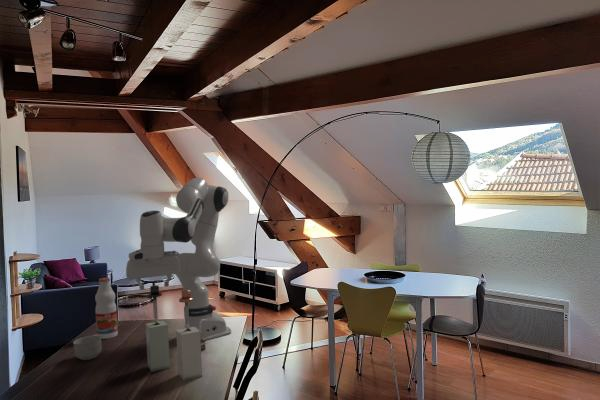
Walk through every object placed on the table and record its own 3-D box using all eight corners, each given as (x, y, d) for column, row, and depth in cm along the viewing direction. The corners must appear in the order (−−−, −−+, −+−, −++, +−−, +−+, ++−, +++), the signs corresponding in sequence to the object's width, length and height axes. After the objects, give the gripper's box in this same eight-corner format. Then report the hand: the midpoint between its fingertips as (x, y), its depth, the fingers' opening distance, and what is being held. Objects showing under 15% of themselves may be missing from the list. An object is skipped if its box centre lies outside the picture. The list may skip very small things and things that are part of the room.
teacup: (91, 362, 201) (90, 343, 200) (68, 362, 203) (67, 342, 203) (111, 351, 214) (110, 332, 214) (89, 350, 216) (88, 332, 216)
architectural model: (206, 351, 210) (205, 334, 209) (190, 355, 206) (189, 337, 206) (204, 349, 213) (203, 332, 212) (188, 352, 209) (187, 335, 209)
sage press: (165, 362, 197) (163, 320, 197) (169, 367, 191) (167, 324, 191) (147, 366, 194) (145, 323, 193) (151, 371, 188) (149, 327, 187)
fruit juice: (117, 332, 242) (114, 275, 241) (118, 337, 234) (115, 279, 233) (97, 335, 239) (93, 278, 238) (96, 340, 230) (93, 281, 229)
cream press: (196, 370, 187) (194, 326, 186) (202, 376, 181) (199, 331, 180) (178, 374, 184) (176, 329, 183) (183, 381, 178) (181, 334, 177)
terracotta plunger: (193, 336, 185) (190, 288, 185) (197, 339, 181) (194, 290, 180) (179, 338, 183) (177, 290, 182) (183, 342, 178) (180, 292, 178)
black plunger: (162, 329, 196) (159, 284, 195) (165, 333, 191) (162, 286, 190) (148, 332, 193) (146, 286, 193) (151, 335, 189) (149, 288, 188)
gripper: (177, 249, 199) (178, 283, 199) (124, 254, 189) (126, 290, 190) (181, 250, 193) (183, 285, 194) (127, 256, 184) (128, 293, 184)
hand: (154, 288), depth 192 cm, fingers open, 8 cm apart
